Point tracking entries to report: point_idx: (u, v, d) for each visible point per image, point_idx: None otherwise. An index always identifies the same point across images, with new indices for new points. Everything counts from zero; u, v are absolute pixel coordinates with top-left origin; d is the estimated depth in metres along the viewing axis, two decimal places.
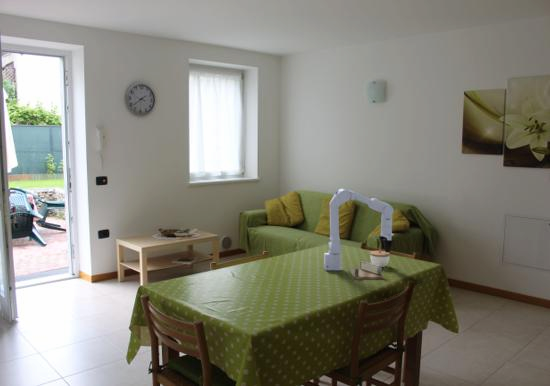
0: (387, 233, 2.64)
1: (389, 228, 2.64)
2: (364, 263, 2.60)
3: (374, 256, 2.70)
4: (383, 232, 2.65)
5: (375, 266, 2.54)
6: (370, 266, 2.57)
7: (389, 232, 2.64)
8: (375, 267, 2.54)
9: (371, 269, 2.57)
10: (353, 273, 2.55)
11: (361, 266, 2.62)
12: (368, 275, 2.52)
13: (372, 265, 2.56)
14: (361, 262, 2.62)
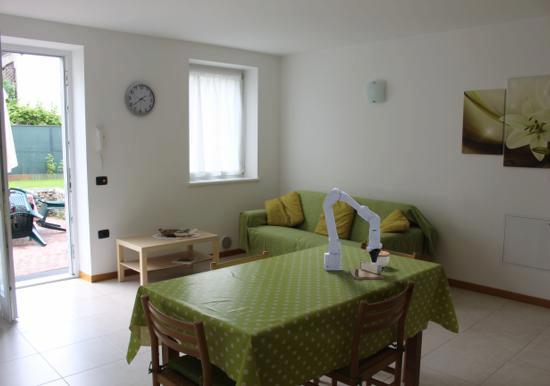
0: (371, 244, 2.60)
1: (373, 240, 2.59)
2: (364, 263, 2.60)
3: None
4: (369, 243, 2.61)
5: (375, 266, 2.54)
6: (370, 266, 2.57)
7: (373, 244, 2.59)
8: (375, 267, 2.54)
9: (371, 269, 2.57)
10: (353, 273, 2.55)
11: (361, 266, 2.62)
12: (368, 275, 2.52)
13: (372, 265, 2.56)
14: (361, 262, 2.62)
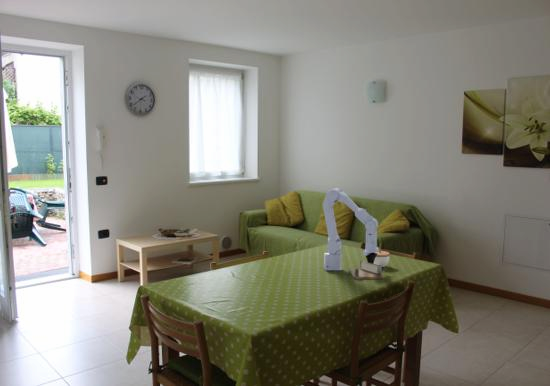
0: (368, 248, 2.57)
1: (370, 244, 2.56)
2: (364, 263, 2.60)
3: None
4: None
5: (375, 266, 2.54)
6: (370, 266, 2.57)
7: (370, 248, 2.56)
8: (375, 267, 2.54)
9: (371, 269, 2.57)
10: (353, 273, 2.55)
11: (361, 266, 2.62)
12: (368, 275, 2.52)
13: (372, 265, 2.56)
14: (361, 262, 2.62)
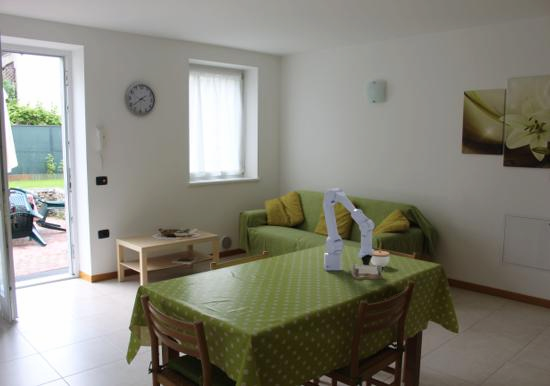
0: (363, 250, 2.53)
1: (365, 245, 2.52)
2: (359, 266, 2.54)
3: (374, 256, 2.70)
4: (361, 249, 2.54)
5: (374, 267, 2.53)
6: (368, 268, 2.53)
7: (365, 250, 2.52)
8: (374, 268, 2.53)
9: (369, 271, 2.53)
10: (353, 273, 2.55)
11: None
12: (368, 275, 2.52)
13: (370, 266, 2.53)
14: (355, 265, 2.55)
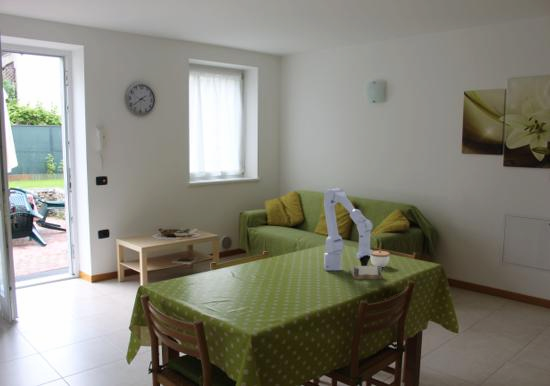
0: (361, 251, 2.51)
1: (363, 246, 2.50)
2: (360, 267, 2.52)
3: (374, 256, 2.70)
4: (359, 249, 2.53)
5: (375, 267, 2.52)
6: (368, 269, 2.52)
7: (363, 250, 2.50)
8: (375, 268, 2.52)
9: (369, 271, 2.52)
10: None
11: None
12: (368, 275, 2.52)
13: (371, 267, 2.52)
14: (356, 267, 2.51)
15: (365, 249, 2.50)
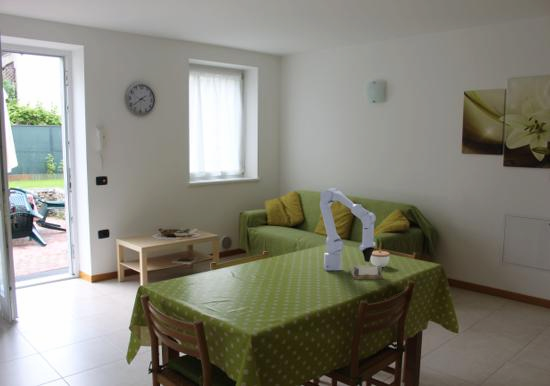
0: (365, 243, 2.54)
1: (367, 238, 2.53)
2: (360, 267, 2.52)
3: (374, 256, 2.70)
4: (362, 241, 2.55)
5: (375, 267, 2.52)
6: (368, 269, 2.52)
7: (367, 242, 2.53)
8: (375, 268, 2.52)
9: (369, 271, 2.52)
10: None
11: None
12: (368, 275, 2.52)
13: (371, 267, 2.52)
14: (356, 267, 2.51)
15: (368, 241, 2.53)
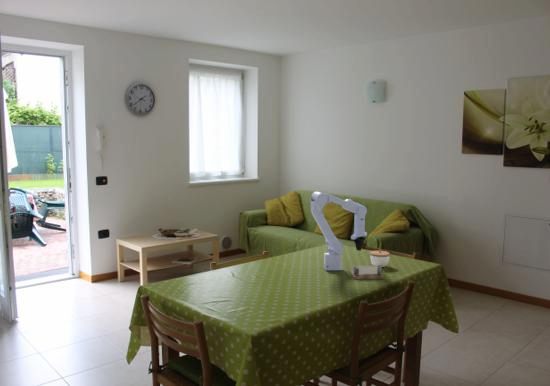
0: (356, 233, 2.68)
1: (358, 228, 2.68)
2: (360, 267, 2.52)
3: (374, 256, 2.70)
4: (354, 231, 2.70)
5: (375, 267, 2.52)
6: (368, 269, 2.52)
7: (358, 232, 2.68)
8: (375, 268, 2.52)
9: (369, 271, 2.52)
10: None
11: None
12: (368, 275, 2.52)
13: (371, 267, 2.52)
14: (356, 267, 2.51)
15: (360, 231, 2.68)
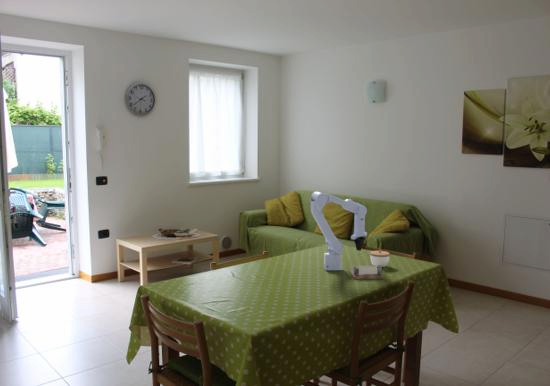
0: (356, 233, 2.68)
1: (358, 228, 2.68)
2: (360, 267, 2.52)
3: (374, 256, 2.70)
4: (354, 231, 2.70)
5: (375, 267, 2.52)
6: (368, 269, 2.52)
7: (358, 232, 2.68)
8: (375, 268, 2.52)
9: (369, 271, 2.52)
10: None
11: None
12: (368, 275, 2.52)
13: (371, 267, 2.52)
14: (356, 267, 2.51)
15: (360, 231, 2.68)
